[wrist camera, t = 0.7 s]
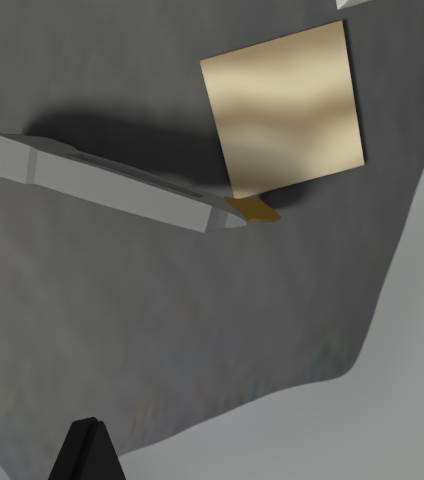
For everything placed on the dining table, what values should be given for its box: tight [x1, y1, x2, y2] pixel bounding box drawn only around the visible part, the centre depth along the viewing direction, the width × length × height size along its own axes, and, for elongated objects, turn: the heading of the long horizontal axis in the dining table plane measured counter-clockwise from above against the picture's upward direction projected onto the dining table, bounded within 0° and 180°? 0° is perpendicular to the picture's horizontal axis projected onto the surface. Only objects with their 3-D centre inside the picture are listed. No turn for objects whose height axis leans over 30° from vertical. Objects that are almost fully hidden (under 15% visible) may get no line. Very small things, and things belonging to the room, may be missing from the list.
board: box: [200, 20, 364, 199], centre depth 36 cm, size 13×13×1 cm
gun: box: [0, 133, 281, 233], centre depth 34 cm, size 3×25×15 cm, turn 76°
